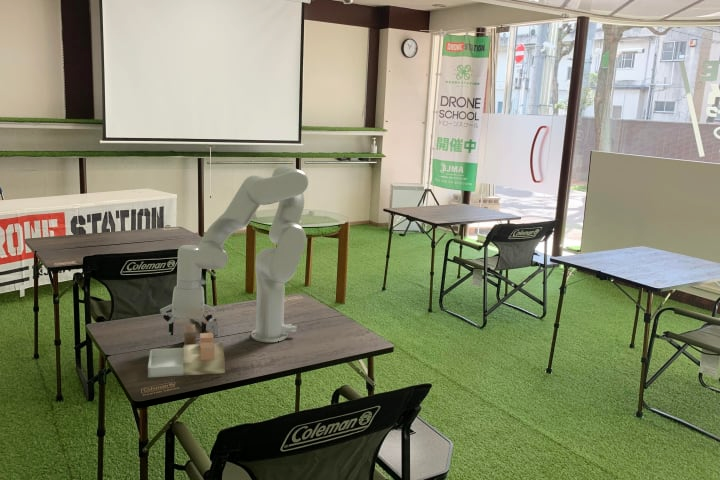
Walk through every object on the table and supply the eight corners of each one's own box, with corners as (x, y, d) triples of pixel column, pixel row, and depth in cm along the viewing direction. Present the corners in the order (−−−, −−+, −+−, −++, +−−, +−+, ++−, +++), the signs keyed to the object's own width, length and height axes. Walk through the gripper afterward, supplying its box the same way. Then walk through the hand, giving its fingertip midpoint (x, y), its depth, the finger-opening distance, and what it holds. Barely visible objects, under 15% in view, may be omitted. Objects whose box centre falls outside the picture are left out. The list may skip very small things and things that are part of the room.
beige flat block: (222, 354, 203) (222, 342, 202) (224, 372, 190) (224, 360, 189) (183, 356, 199) (183, 344, 199) (183, 375, 186) (183, 362, 185)
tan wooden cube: (213, 354, 193) (214, 342, 192) (214, 359, 189) (214, 347, 188) (200, 355, 191) (200, 342, 191) (200, 360, 188) (200, 348, 187)
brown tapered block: (195, 341, 213) (194, 324, 211) (196, 355, 201) (196, 337, 200) (184, 341, 212) (184, 325, 210) (184, 355, 200) (184, 338, 199)
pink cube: (212, 344, 200) (212, 332, 199) (213, 349, 196) (213, 337, 195) (199, 345, 199) (199, 333, 198) (200, 350, 195) (200, 338, 194)
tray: (183, 356, 199) (183, 347, 199) (183, 375, 186) (183, 366, 186) (150, 358, 197) (150, 349, 196) (148, 377, 184) (147, 368, 183)
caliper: (218, 336, 218) (218, 319, 217) (215, 336, 218) (215, 319, 216) (193, 318, 234) (193, 302, 232) (190, 319, 233) (190, 303, 232)
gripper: (216, 280, 208) (213, 329, 211) (161, 280, 203) (160, 330, 206) (217, 287, 200) (214, 337, 204) (160, 286, 196) (159, 338, 199)
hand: (187, 333), depth 205 cm, fingers open, 9 cm apart
